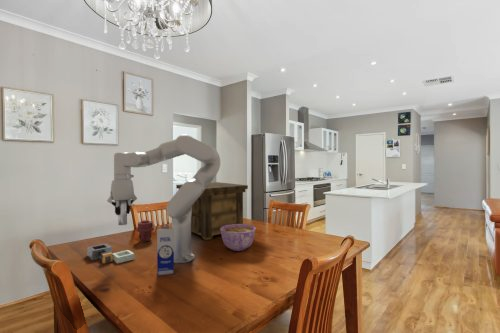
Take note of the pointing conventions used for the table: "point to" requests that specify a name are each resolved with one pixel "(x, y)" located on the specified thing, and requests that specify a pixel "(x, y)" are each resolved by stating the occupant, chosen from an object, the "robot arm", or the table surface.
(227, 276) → the table surface
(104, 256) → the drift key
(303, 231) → the table surface
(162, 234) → the milk carton
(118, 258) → the pale green tray
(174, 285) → the table surface
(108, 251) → the socket block
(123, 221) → the grey peg
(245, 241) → the bowl of food
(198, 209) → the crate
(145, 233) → the dark red pot
